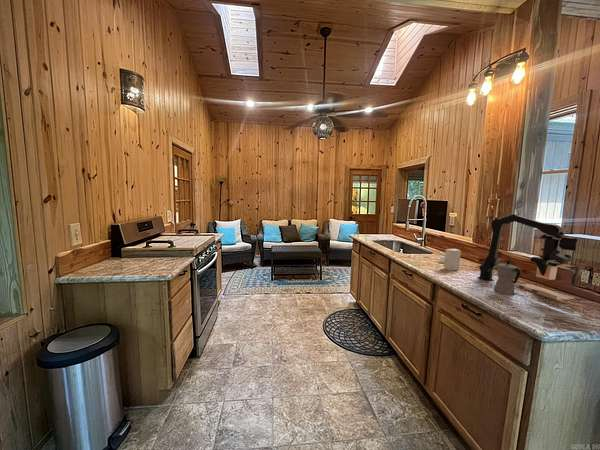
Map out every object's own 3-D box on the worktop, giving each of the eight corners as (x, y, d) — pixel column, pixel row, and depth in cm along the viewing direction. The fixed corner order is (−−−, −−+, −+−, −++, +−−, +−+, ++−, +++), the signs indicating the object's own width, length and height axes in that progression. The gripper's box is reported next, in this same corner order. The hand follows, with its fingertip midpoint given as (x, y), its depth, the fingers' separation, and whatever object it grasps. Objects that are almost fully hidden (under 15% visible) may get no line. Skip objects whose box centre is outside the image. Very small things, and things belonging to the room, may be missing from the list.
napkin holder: (461, 265, 208) (461, 258, 207) (452, 266, 203) (452, 259, 202) (443, 260, 221) (443, 254, 221) (434, 261, 216) (435, 255, 215)
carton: (549, 279, 144) (551, 267, 143) (536, 275, 150) (537, 263, 149) (555, 279, 145) (557, 266, 144) (542, 275, 151) (543, 263, 150)
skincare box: (452, 268, 197) (455, 248, 195) (459, 270, 191) (461, 250, 189) (443, 268, 195) (445, 248, 193) (449, 270, 189) (451, 250, 188)
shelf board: (555, 302, 137) (555, 296, 137) (512, 287, 158) (512, 282, 158) (574, 300, 141) (575, 294, 140) (530, 285, 162) (531, 281, 161)
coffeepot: (487, 287, 156) (491, 257, 154) (503, 288, 156) (507, 258, 154) (507, 297, 141) (512, 264, 139) (525, 298, 141) (530, 265, 139)
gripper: (555, 251, 135) (550, 280, 137) (581, 250, 140) (575, 279, 142) (531, 246, 146) (527, 274, 148) (556, 246, 151) (551, 272, 153)
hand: (545, 275), depth 147 cm, fingers closed on carton, 4 cm apart
